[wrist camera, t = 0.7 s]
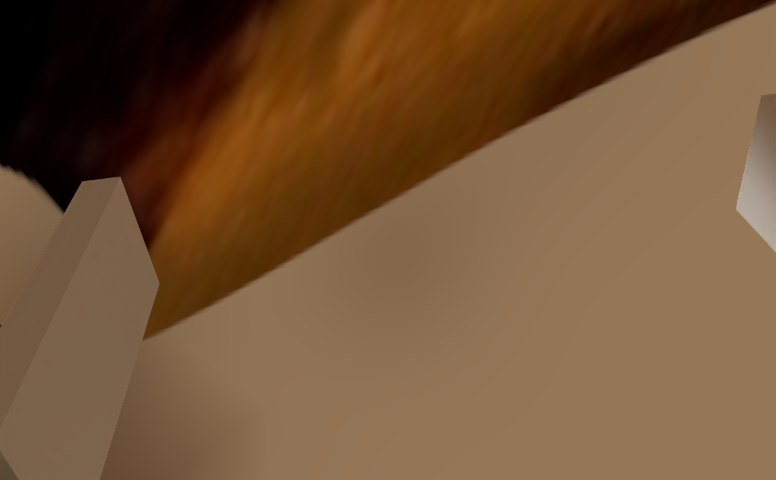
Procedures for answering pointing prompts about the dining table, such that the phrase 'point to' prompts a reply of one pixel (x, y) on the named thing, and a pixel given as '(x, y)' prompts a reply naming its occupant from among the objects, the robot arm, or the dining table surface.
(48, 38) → the dining table surface
